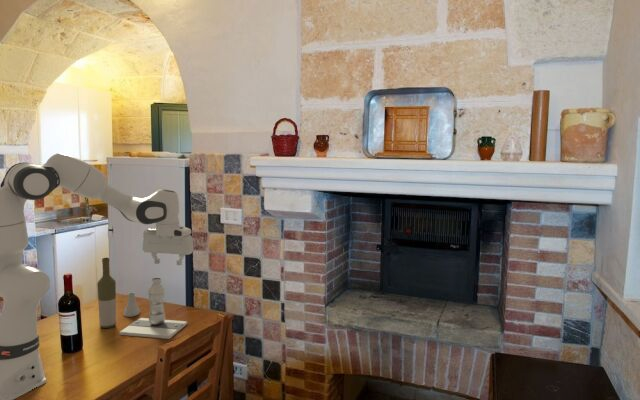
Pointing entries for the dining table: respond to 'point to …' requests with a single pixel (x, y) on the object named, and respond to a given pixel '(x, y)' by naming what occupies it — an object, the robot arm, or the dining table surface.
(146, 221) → the robot arm
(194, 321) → the dining table surface
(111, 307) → the bottle
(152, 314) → the plastic bottle
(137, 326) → the white book
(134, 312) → the flask
